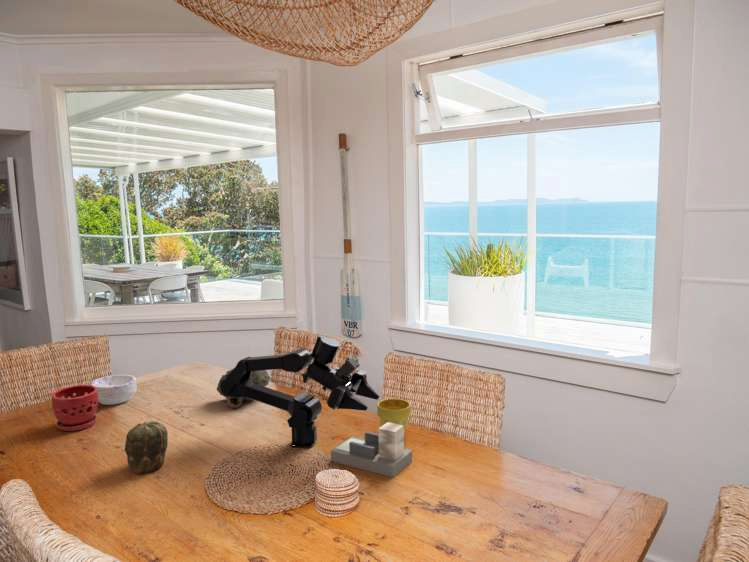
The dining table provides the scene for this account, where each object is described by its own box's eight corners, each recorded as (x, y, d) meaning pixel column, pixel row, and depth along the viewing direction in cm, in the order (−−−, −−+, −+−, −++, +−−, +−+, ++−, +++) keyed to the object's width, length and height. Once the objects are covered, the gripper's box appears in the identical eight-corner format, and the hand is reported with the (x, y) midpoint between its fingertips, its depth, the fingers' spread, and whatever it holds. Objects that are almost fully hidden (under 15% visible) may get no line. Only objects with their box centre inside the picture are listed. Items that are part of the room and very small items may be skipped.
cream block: (378, 457, 145) (378, 428, 144) (387, 449, 149) (387, 422, 148) (395, 461, 143) (394, 432, 142) (403, 453, 147) (403, 425, 146)
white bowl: (125, 408, 193) (124, 386, 192) (83, 408, 193) (81, 386, 192) (144, 393, 208) (143, 373, 207) (105, 394, 208) (103, 374, 207)
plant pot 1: (44, 431, 173) (41, 394, 171) (80, 416, 185) (78, 382, 183) (74, 436, 168) (71, 399, 166) (109, 421, 180) (106, 386, 179)
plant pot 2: (408, 442, 161) (408, 410, 160) (374, 439, 163) (374, 408, 162) (412, 428, 171) (412, 399, 170) (380, 426, 173) (380, 397, 172)
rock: (250, 350, 205) (242, 353, 190) (276, 378, 205) (271, 383, 190) (214, 384, 203) (203, 390, 188) (240, 412, 203) (232, 420, 188)
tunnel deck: (331, 460, 150) (330, 440, 149) (352, 446, 159) (352, 426, 158) (392, 477, 140) (392, 455, 139) (412, 460, 149) (412, 440, 148)
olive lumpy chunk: (178, 460, 151) (175, 418, 150) (150, 478, 141) (147, 434, 139) (146, 454, 155) (144, 414, 153) (117, 472, 145) (114, 429, 143)
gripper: (322, 360, 145) (371, 389, 141) (349, 344, 163) (394, 369, 159) (307, 395, 148) (356, 424, 144) (336, 376, 166) (380, 401, 161)
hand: (372, 403), depth 152 cm, fingers open, 9 cm apart
